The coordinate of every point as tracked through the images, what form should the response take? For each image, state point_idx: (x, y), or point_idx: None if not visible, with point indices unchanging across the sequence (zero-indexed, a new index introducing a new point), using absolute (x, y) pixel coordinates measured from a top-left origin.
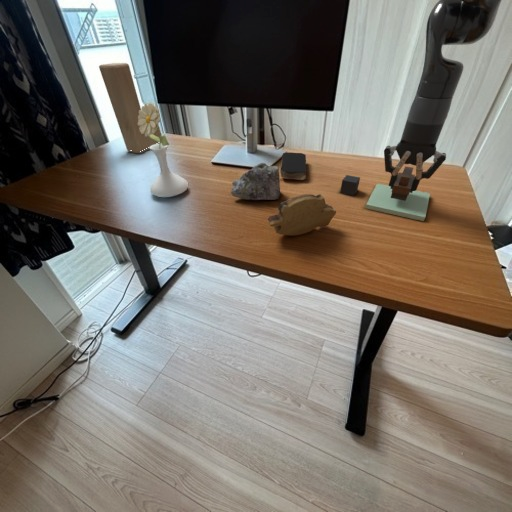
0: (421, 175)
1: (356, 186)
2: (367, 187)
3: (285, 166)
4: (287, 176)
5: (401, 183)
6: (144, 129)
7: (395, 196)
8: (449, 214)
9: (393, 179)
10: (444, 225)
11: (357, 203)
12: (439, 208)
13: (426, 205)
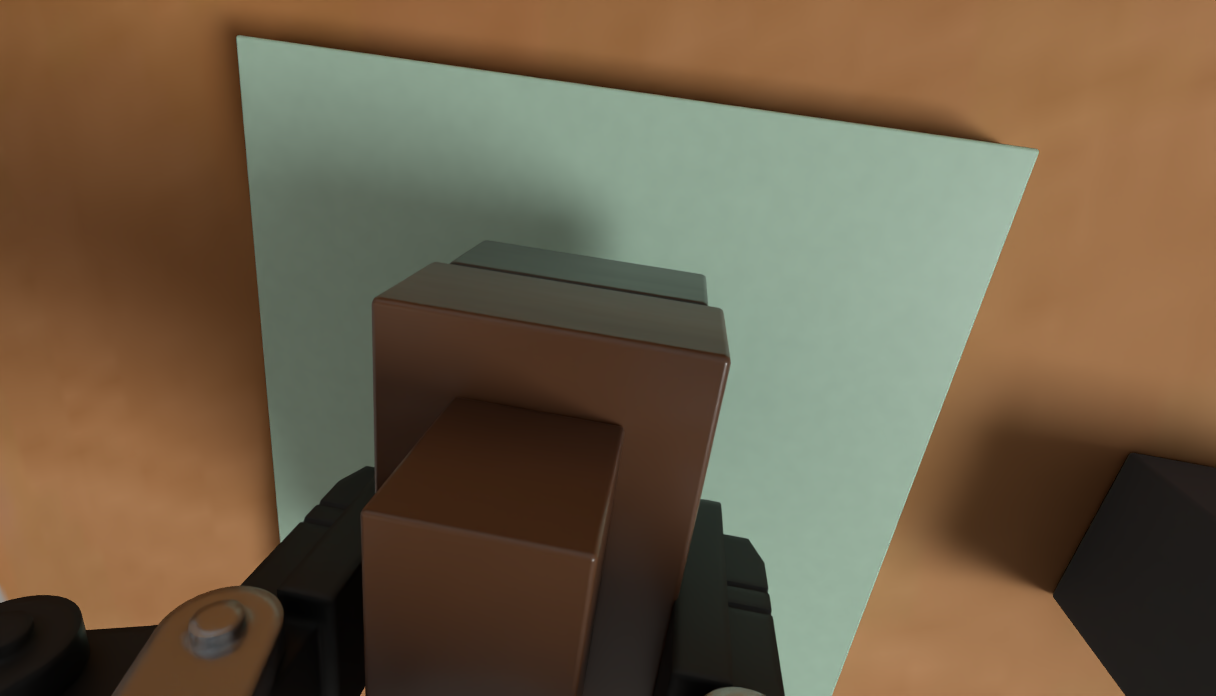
0: (134, 671)
1: (1187, 572)
2: (911, 672)
3: None
4: None
5: (567, 436)
6: None
7: (638, 272)
8: (89, 304)
9: (723, 619)
10: (72, 32)
11: (1103, 261)
12: (190, 399)
13: (276, 357)
